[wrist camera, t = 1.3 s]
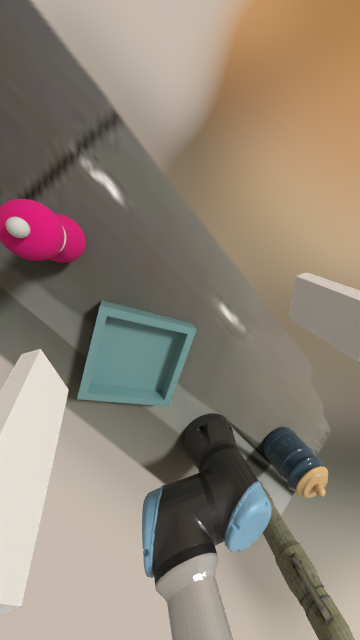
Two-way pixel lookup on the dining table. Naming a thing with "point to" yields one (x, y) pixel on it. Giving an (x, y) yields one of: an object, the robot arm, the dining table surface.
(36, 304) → the dining table surface
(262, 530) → the robot arm
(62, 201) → the dining table surface
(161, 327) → the tray
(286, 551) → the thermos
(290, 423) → the dining table surface
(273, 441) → the canister
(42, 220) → the pepper mill
